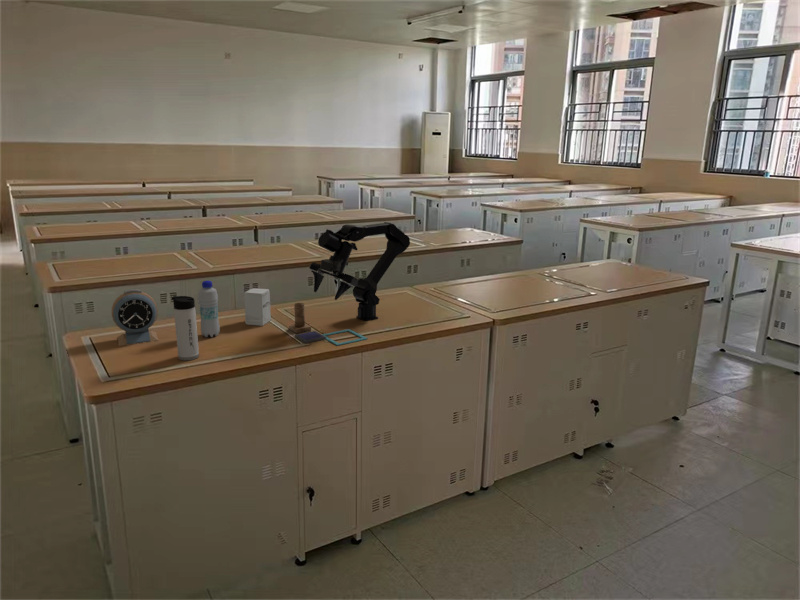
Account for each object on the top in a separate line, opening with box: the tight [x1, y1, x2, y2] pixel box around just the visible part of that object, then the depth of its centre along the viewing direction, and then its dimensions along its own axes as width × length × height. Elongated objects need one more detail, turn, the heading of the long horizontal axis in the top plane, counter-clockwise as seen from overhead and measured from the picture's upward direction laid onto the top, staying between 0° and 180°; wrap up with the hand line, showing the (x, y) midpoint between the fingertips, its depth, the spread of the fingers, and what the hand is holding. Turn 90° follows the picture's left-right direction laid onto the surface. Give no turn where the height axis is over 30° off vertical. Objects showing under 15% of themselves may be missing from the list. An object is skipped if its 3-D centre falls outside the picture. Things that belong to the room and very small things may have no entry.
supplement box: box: [243, 287, 272, 327], centre depth 215 cm, size 7×7×13 cm
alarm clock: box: [111, 288, 159, 347], centre depth 194 cm, size 14×10×18 cm
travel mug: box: [171, 295, 200, 362], centre depth 178 cm, size 6×7×20 cm
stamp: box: [288, 302, 312, 335], centre depth 208 cm, size 6×6×10 cm
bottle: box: [197, 280, 221, 338], centre depth 199 cm, size 7×7×20 cm
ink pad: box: [294, 330, 327, 344], centre depth 201 cm, size 8×8×1 cm
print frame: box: [321, 328, 368, 347], centre depth 202 cm, size 12×12×1 cm
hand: (324, 295), depth 209 cm, fingers open, 9 cm apart
